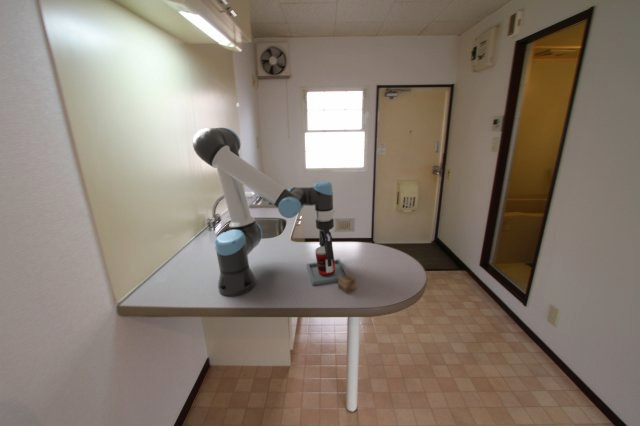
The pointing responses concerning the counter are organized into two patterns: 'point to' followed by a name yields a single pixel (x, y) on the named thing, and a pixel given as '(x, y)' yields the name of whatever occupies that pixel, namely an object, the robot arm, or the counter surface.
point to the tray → (320, 279)
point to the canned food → (323, 261)
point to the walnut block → (347, 283)
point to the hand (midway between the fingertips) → (326, 266)
